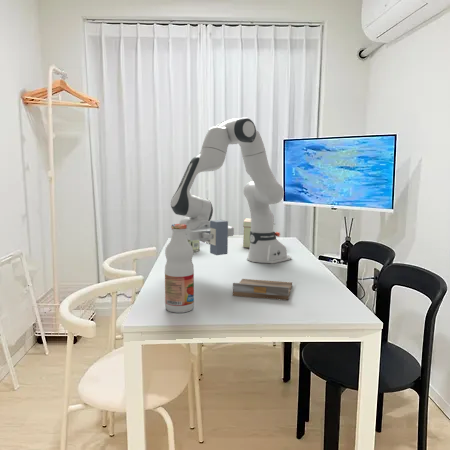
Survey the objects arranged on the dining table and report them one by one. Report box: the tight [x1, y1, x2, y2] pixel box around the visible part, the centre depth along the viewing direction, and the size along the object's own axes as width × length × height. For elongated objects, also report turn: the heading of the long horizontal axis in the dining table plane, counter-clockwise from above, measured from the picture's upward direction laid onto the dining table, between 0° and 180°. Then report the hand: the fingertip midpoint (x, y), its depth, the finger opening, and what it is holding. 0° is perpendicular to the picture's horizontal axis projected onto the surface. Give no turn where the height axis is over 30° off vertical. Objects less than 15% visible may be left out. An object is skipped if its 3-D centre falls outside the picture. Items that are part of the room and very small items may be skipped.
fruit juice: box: [164, 223, 195, 314], centre depth 142 cm, size 9×9×28 cm
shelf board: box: [232, 278, 293, 301], centre depth 164 cm, size 18×20×4 cm
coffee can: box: [187, 239, 201, 253], centre depth 236 cm, size 10×10×14 cm
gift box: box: [242, 217, 251, 249], centre depth 249 cm, size 17×18×17 cm
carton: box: [209, 219, 229, 256], centre depth 171 cm, size 5×5×13 cm
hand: (219, 235), depth 170 cm, fingers closed on carton, 5 cm apart
